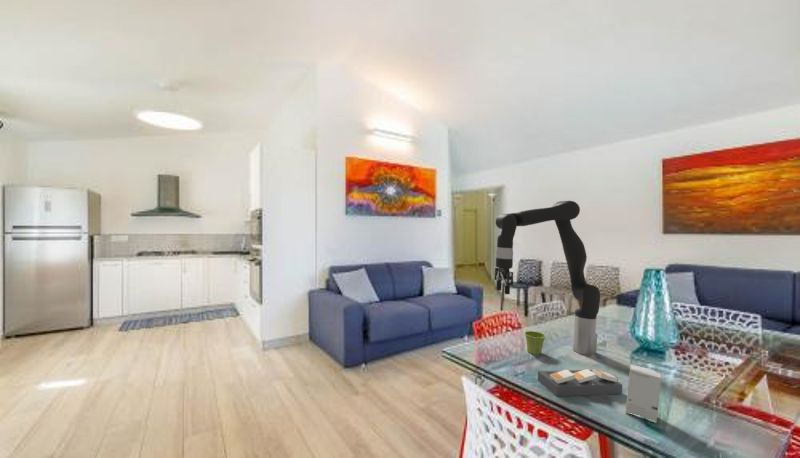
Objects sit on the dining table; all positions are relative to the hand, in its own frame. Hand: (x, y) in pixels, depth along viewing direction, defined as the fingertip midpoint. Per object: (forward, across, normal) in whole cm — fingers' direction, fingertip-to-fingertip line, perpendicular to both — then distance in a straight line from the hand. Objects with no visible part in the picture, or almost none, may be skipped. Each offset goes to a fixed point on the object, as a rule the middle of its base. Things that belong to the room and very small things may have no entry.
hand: (502, 292), depth 152 cm
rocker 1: (+24, -34, -8) cm, 43 cm away
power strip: (+29, -31, -20) cm, 47 cm away
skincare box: (+29, -50, -25) cm, 64 cm away
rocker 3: (+24, -34, -25) cm, 49 cm away
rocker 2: (+24, -34, -17) cm, 45 cm away
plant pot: (+29, +2, -18) cm, 34 cm away
